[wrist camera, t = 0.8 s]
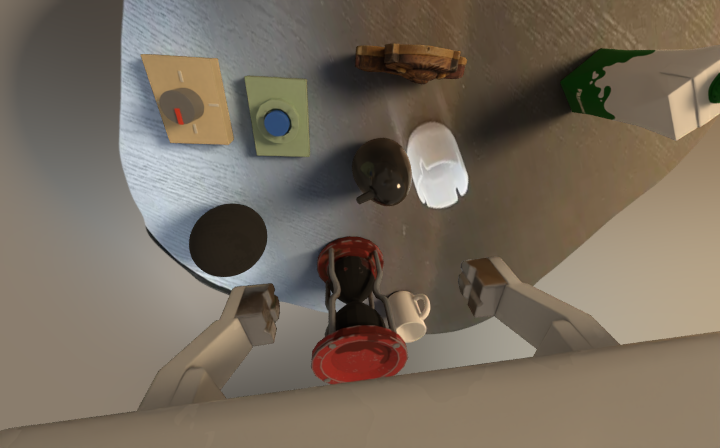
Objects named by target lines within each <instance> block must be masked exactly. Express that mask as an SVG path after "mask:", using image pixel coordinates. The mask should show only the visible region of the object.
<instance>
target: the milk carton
mask: <svg viewBox="0 0 720 448" xmlns="http://www.w3.org/2000/svg"><path fill="white" fill-rule="evenodd" d="M560 83H561V86H562V88H563V91H564V93H565V95H566V98H567V100H568V103H569V105H570V108H571V110H572V112H575V113H583V114H589V115H594V116H598V117H602V118H607V119H611V120H615V121H620V122H624V123H628V124H632V125H636V126H640V127H643V128H645V129H648V130H650V131H653V132H656V133H658V134H661V135H663V136H666V137H668V138H671V139H673V140H675V141H677V140H678V139H680V138H682V137H683V136H685V135H686V134H688V133H689V132H691V131H692V130H694V129H695V128H697V127H701V126H703V125H704V124H706V123H707V122H709V121H710V120H711V119H712V118H714V117H715V116H717V115H719V114H720V45H716V46H710V47H704V48H697V49H689V50H615V49H602V48H601V49H600V50H598V51H597V52H596V53H595V54H594V55H592V56H591V57H590V58H589V59H587V60H586V61H585V62H584V63H582V64H581V65H580V66H579V67H578V68H576V69H575V70H574V71H573V72H571V73H570V74H569V75H568V76H567V77H565V78H564V79H563V80H562V81H560Z"/></svg>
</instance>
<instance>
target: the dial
mask: <svg viewBox="0 0 720 448" xmlns="http://www.w3.org/2000/svg"><path fill="white" fill-rule="evenodd" d="M159 103H160V108H161V110H162V112H163V113H164V115H165V116H166V117H167V118H168V119H170V120H171V121H173V122H175V123H177V124H179V125H183V124H188V123H190V122H192V121H194V120H196V119H198V118H200V117H201V116H202V115H203V113H204V104H203V101H202V99H201V98H200V96H199V95H198V94H197V93H196V92H194V91H193V90H191V89H188V88H177V89H173V90H169V91H166V92H164V93H163V94H162V95H161V97H160V100H159Z"/></svg>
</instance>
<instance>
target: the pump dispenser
mask: <svg viewBox="0 0 720 448" xmlns="http://www.w3.org/2000/svg"><path fill="white" fill-rule="evenodd" d="M352 173H353V177H354V180H355V182H356V184H357V185H358V187H359V189H360V190H361V191H362V192H363V194H362V195H360V196H359V197H357V199H356V200H357V203H358V204H361V203H364V202H366V201H369V200H372V201H373V202H375V203H377V204H379V205H383V206H394V205H397V204H399V203H400V202H402V201H403V200H404V199H405V197H406V196H407V194H408V192H409V189H410V186H411V180H412V170H411V165H410V161H409V158H408V156H407V154H406V152H405V150H404V149H403V148H402V146H401V145H400V144H398V143H397V142H395V141H394V140H391V139H387V138H376V139H373V140H370V141H368V142H366V143H365V144H363V145H362V146H361V147H360V148H359V149H358V151H357V152H356V154H355V156H354V158H353V162H352Z"/></svg>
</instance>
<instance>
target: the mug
mask: <svg viewBox="0 0 720 448" xmlns="http://www.w3.org/2000/svg"><path fill="white" fill-rule="evenodd" d="M418 299H423V301H424V303H425V308H424V310H423V312H422V313H421V312H420V309H419V307H418V304H417V300H418ZM388 300H389V302H390V306H391V310H392V314H393V319H394V323H395V327H396V331H397V334H399V335H400V336H401V337H402V339H403V340H404V341H405V342H413V341H416V340H418V339H420V338H421V337H423V335H424V334H425V333H426V326H425V324H424V321H423V320H424V319H425V318H426V317H427V316H428V314H429V311H430V302H429V299H428V298H427V296H426V295H424V294H416V295H413V294H412V293H410V292H408V291H398V292H395V293H393V294H392V295H391V296H390V297H389V298H388Z"/></svg>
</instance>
